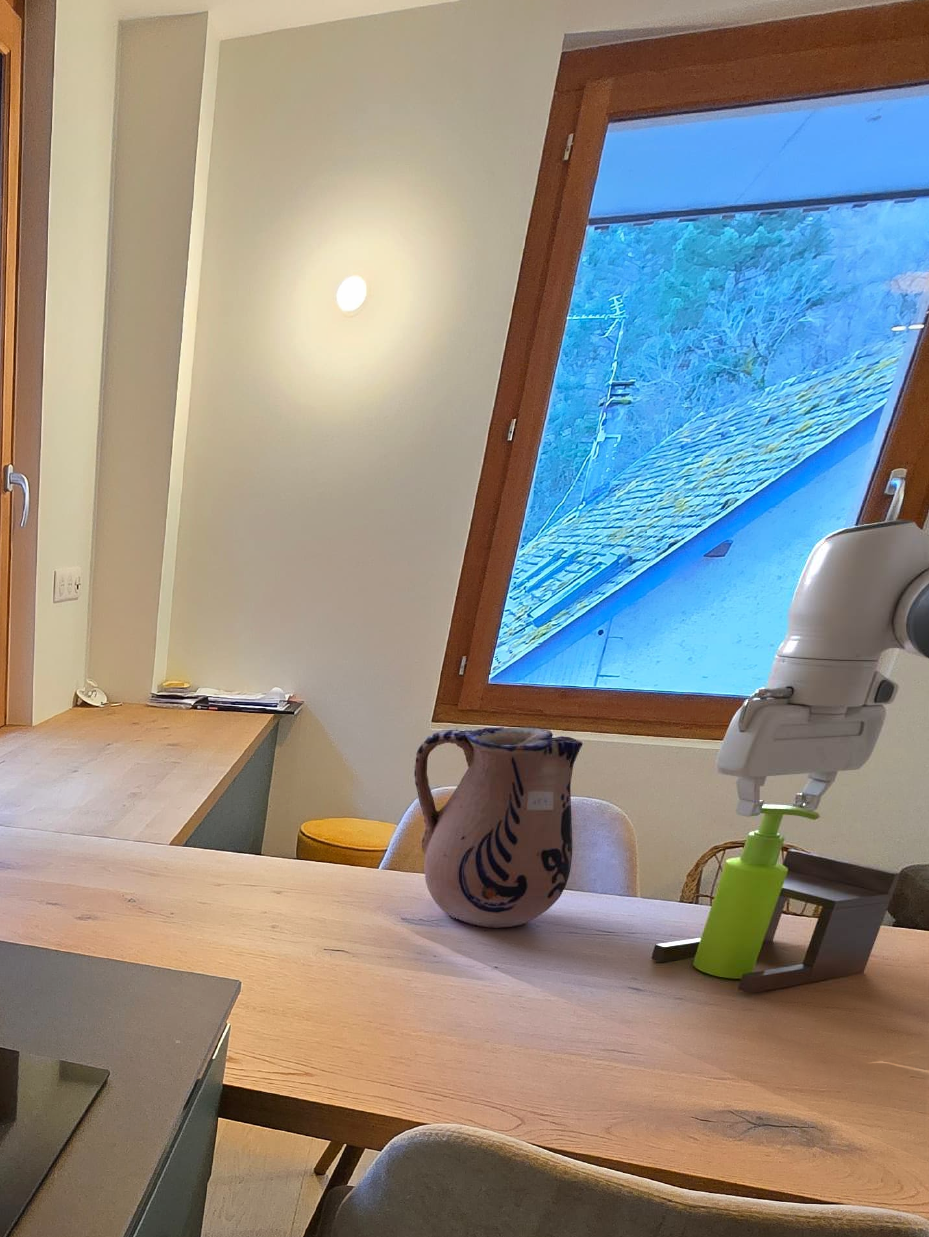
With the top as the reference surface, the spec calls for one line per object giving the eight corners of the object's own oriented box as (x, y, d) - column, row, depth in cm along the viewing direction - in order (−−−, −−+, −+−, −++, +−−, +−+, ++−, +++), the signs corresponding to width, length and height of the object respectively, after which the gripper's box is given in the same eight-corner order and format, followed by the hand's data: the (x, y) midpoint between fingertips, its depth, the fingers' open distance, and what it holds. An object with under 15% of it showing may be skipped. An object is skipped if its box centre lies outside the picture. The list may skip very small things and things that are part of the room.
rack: (863, 973, 124) (900, 873, 119) (747, 993, 118) (782, 888, 113) (762, 942, 134) (792, 849, 130) (650, 959, 128) (678, 862, 123)
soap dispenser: (763, 984, 121) (823, 816, 112) (692, 972, 124) (745, 808, 115) (761, 967, 125) (818, 804, 116) (693, 955, 128) (744, 797, 120)
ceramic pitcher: (558, 949, 133) (609, 753, 122) (383, 926, 141) (416, 740, 130) (553, 905, 147) (597, 726, 136) (394, 887, 155) (424, 717, 144)
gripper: (781, 691, 106) (739, 824, 111) (910, 686, 112) (864, 813, 118) (720, 685, 111) (684, 812, 117) (846, 681, 118) (806, 802, 123)
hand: (775, 812), depth 117 cm, fingers open, 8 cm apart
